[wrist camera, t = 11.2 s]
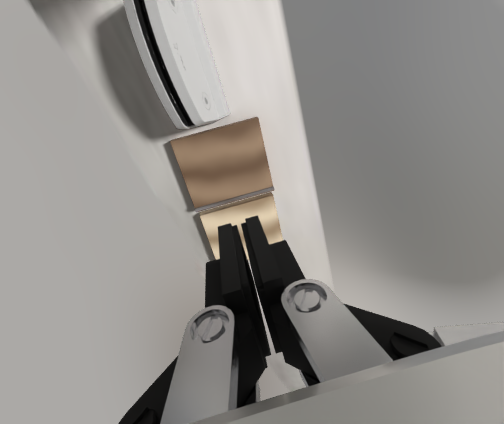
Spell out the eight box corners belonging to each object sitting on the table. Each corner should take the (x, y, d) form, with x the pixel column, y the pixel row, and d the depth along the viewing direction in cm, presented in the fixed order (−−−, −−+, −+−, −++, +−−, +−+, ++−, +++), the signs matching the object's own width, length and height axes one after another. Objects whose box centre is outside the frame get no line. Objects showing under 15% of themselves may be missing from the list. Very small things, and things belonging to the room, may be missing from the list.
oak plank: (200, 212, 44) (199, 216, 43) (271, 192, 45) (273, 195, 43) (218, 263, 49) (219, 268, 48) (282, 245, 50) (285, 249, 48)
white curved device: (231, 116, 39) (209, 132, 31) (203, 124, 40) (174, 142, 32) (188, -26, 32) (143, -57, 23) (154, -10, 33) (101, -34, 25)
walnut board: (171, 139, 39) (169, 142, 37) (256, 116, 40) (258, 118, 38) (196, 208, 44) (196, 213, 42) (271, 187, 45) (274, 191, 43)
